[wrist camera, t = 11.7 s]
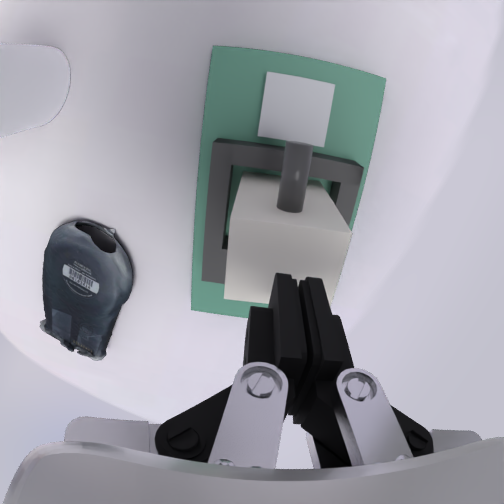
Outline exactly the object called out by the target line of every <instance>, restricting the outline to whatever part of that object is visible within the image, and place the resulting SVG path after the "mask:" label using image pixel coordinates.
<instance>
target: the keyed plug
mask: <svg viewBox="0 0 504 504" xmlns="http://www.w3.org/2000/svg"><path fill="white" fill-rule="evenodd" d="M313 147H314V146H313V145H311V144H307V143H303V142H297V141H286V144H285V151H284V158H283V165H282V172H281V176H280V175H272V174H264V173H256V172H247V171H243V174H242V177H241V181H240V184H239V188H238V192H237V195H236V199H235V202H234V206H233V210H232V213H231V217H230V226H229V238H228V250H227V263H226V276H225V289H224V299H229V300H238V301H247V302H256V303H265V304H269V300H270V296H271V291H272V286H273V282H274V277H275V273H276V272H277V273H284V274H291V275H292V279H297V284H298V285H299V282H300V280H305V278H306V277H315V278H321V279H322V280H323V283H324V287H325V291H326V294H327V298H328V301H329V305H330V306H331V303H332V300H333V297H334V294H335V291H336V288H337V285H338V281H339V278H340V275H341V272H342V268H343V265H344V261H345V258H346V254H347V251H348V247H349V244H350V240H351V237H352V232H351V230H350V229H349V227H348V225H347V224H346V222H345V220H344V219H343V217H342V215H341V214H340V212H339V210H338V209H337V207H336V206H335V204H334V203H333V201H332V199H331V198H330V196H329V195H328V193H327V192H326V190H325V188H324V187H323V185H322V184H321V182H320V181H315V180H308V176H309V171H310V165H311V159H312V153H313Z"/></svg>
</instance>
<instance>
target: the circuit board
mask: <svg viewBox="0 0 504 504" xmlns="http://www.w3.org/2000/svg"><path fill="white" fill-rule="evenodd" d="M385 83H386V78H383V77H380V76H377V75H374V74H370V73H367V72H364V71H360V70H357V69H353V68H350V67H346V66H342V65H338V64H334V63H330V62H326V61H321V60H317V59H312V58H307V57H302V56H297V55H291V54H286V53H279V52H273V51H266V50H258V49H249V48H239V47H227V46H213V49H212V56H211V63H210V70H209V77H208V84H207V92H206V100H205V108H204V117H203V126H202V136H201V146H200V156H199V167H198V179H197V192H196V206H195V222H194V240H193V262H192V292H191V310H194V311H201V312H207V313H214V314H221V315H228V316H235V317H243V318H248V317H249V311H250V306H257V307H265V308H268V305H269V304H265V303H256V302H247V301H238V300H229V299H224V289H225V276H226V263H227V250H228V238H229V226H230V217H231V213H232V210H233V206H234V202H235V199H236V195H237V192H238V188H239V184H240V181H241V177H242V174H243V171H247V172H256V173H264V174H272V175H280V176H281V172H282V165H283V158H284V151H285V144H286V141H297V142H303V143H307V144H311V145H313V146H314V147H313V153H312V159H311V165H310V171H309V176H308V180H315V181H320V182H321V184H322V185H323V187H324V188H325V190H326V192H327V193H328V195H329V196H330V198H331V199H332V201H333V203H334V204H335V206H336V207H337V209H338V210H339V212H340V214H341V215H342V217H343V219H344V220H345V222H346V224H347V225H348V227H349V229H350V230H351V231H352V228H353V224H354V221H355V217H356V214H357V210H358V207H359V203H360V199H361V195H362V191H363V188H364V184H365V180H366V176H367V172H368V167H369V163H370V159H371V155H372V150H373V146H374V141H375V136H376V132H377V127H378V122H379V117H380V112H381V106H382V101H383V95H384V89H385Z"/></svg>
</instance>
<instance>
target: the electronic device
mask: <svg viewBox="0 0 504 504" xmlns="http://www.w3.org/2000/svg"><path fill="white" fill-rule="evenodd" d="M82 225H86V226H90V227H96V228H97V229H99V230H101V231H103V232H104V233H106V234H108V235H109V236H110V237H111V238H113V239H114V241H115V242H116V246H117V247H116V252H114V253H106V252H103V251H102V250H100V249H99V248H98V247H97V246H96V245H95V244H94V242H93V241H92V239H91V236H90V235H88V234H86V233H85V232H83V231H81V230H79V229H77V228H76V227H77V226H82ZM114 233H115V229H106V228H104V227H102V226H100V225H97V224H94V223H91V222H86V221H74V222H71V223H67V224H64V225H62V226H60V227H58V228H57V229H55V230H54V231H53V233H52V234H51V236H50V240H49V242H48V245H47V247H46V249H45V252H44V263H43V277H42V279H43V285H42V286H43V301H44V311H45V317H46V319H45V320H42V321H40V324H41V325H40V328H41V329H42V331H44V332H46V333H47V334H49V335H51V336H52V337H54V338H56V339H58V340H59V341H60V342H61V345H63V346H64V347H66V348H67V349H68V350H70V351H71V352H73V351H74V349H77V350H79V351H77V353H78V354H80V355H84V356H87V357H89V358H91V359H92V360H94V361H99V360H102V359H103V358H104V357H105V356H106V355H107V354H106V348H107V345H108V342H109V339H110V336H112V331H113V328H114V325H115V322H116V320H117V317H118V314H119V312H120V309H121V306H122V305H123V304H124V303H125V302H126V301H127V300H128V298H129V296H130V293H131V289H132V285H133V284H132V282H133V281H132V279H133V274H132V268H131V264H130V261H129V259H128V256H127V255H126V253H125V251H124V250H123V248H122V247H121V245H120V244H119V243H118V242H117V240H116V239H115V238H114Z"/></svg>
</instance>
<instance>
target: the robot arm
mask: <svg viewBox="0 0 504 504" xmlns="http://www.w3.org/2000/svg"><path fill="white" fill-rule="evenodd" d="M287 413H288V415H293V424H301V427H302V428H303V429H304V430H305V431H307V433H306V439H307V443H308V447H309V451H310V455H311V459H312V463H313V467H314V469H275V467H276V462H277V456H278V450H279V444H280V438H281V431H282V425H283V422H284V420H285V418H286V415H287ZM3 504H504V437H496V438H490V439H486V440H482V439H481V438H480V436H479V435H478V434H477V433H475V432H473V431H455V430H436V429H435V430H434V429H433V430H431V431H430V432H428V431H427V430H426V429H425V428H424V427H423V426H421V425H420V424H418V423H416V422H415V421H414V420H412V419H411V418H409V417H408V416H406V415H405V414H403V413H402V412H400V411H399V410H397V409H396V408H394V407H393V406H391V405H390V403H389V401H388V399H387V397H386V395H385V393H384V390H383V388H382V386H381V384H380V382H379V381H378V379H377V378H376V377H375V376H374V375H373V374H371V373H370V372H368V371H366V370H363V369H359V368H354V366H353V361H352V357H351V354H350V351H349V346H348V343H347V339H346V336H345V332H344V329H343V325H342V322H341V319H340V317H339V316H338V315H332V312H331V309H330V305H329V301H328V298H327V294H326V291H325V287H324V283H323V280H322V279H321V278H315V277H306V278H305V280H300V282H299V285H298V284H297V279H292V275H291V274H284V273H277V272H276V273H275V277H274V282H273V286H272V291H271V296H270V300H269V305H268V308H265V307H257V306H250V311H249V317H248V322H247V329H246V337H245V347H244V360H243V367H241V368H240V369H239V370H238V372H237V374H236V375H235V379H234V382H233V385H231V386H229V387H228V388H226V389H224V390H222V391H221V392H219V393H217V394H215V395H214V396H212V397H210V398H208V399H207V400H205V401H203V402H201V403H199V404H198V405H196V406H194V407H192V408H190V409H188V410H186V411H184V412H183V413H181V414H179V415H177V416H175V417H173V418H171V419H169V420H167V421H166V422H164V423H163V424H149V422H148V421H133V420H117V419H105V418H95V417H78V418H76V419H74V420H72V421H71V422H70V423H69V424H68V426H67V428H66V431H65V437H64V442H63V441H60V442H53V443H47V444H43V445H40V446H38V447H36V448H35V449H33V450H32V451H31V452H30V453H29V454H28V455H27V456H26V458H25V459H24V460H23V462H22V463H21V465H20V466H19V468H18V470H17V472H16V473H15V475H14V478H13V480H12V482H11V484H10V486H9V489H8V491H7V493H6V496H5V499H4V502H3Z"/></svg>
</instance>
